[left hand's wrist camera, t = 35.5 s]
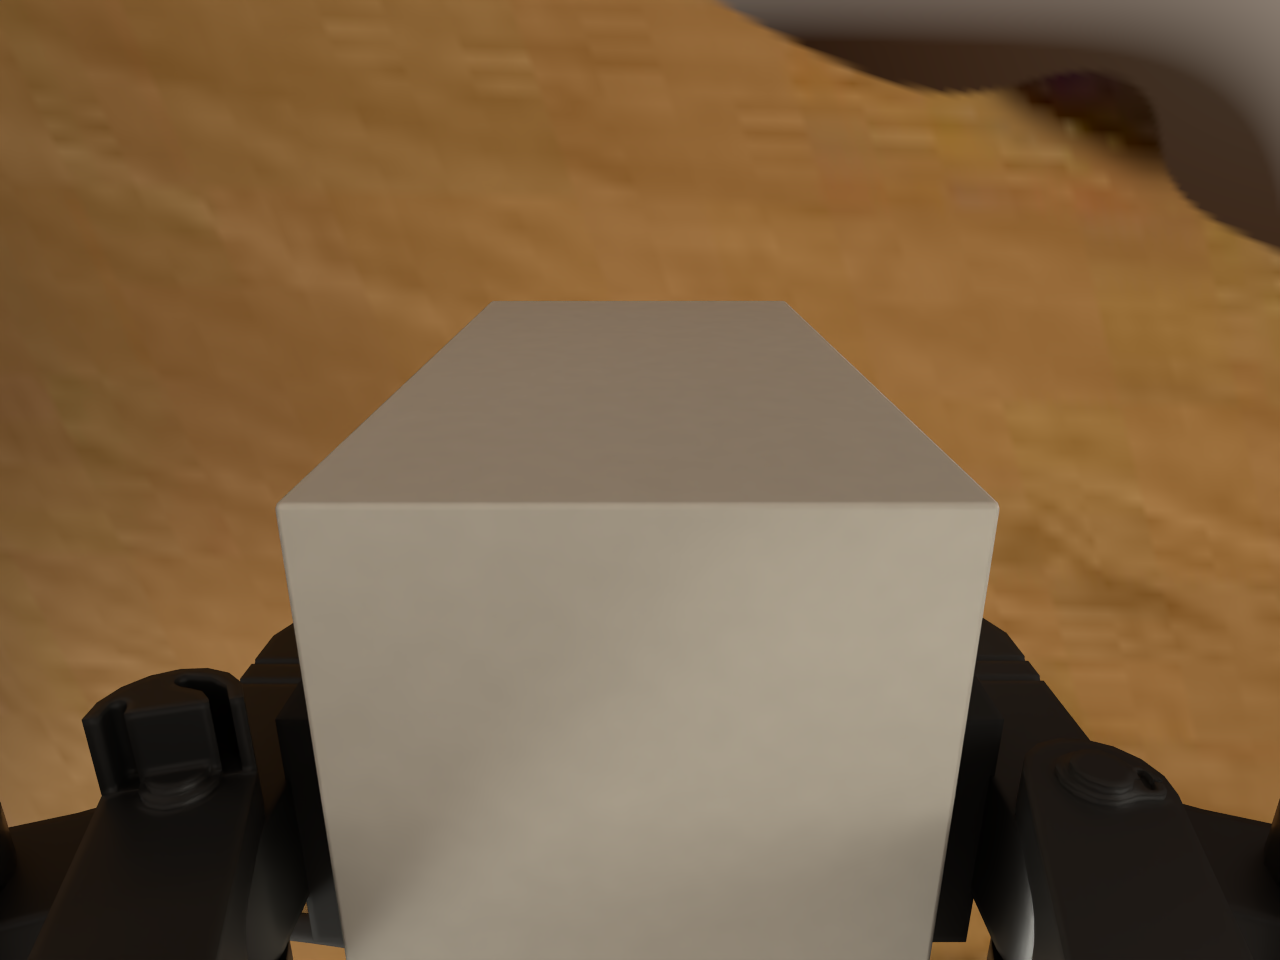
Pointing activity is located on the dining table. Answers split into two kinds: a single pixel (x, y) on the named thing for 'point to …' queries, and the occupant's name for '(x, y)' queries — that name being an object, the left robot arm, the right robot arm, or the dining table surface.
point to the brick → (637, 645)
